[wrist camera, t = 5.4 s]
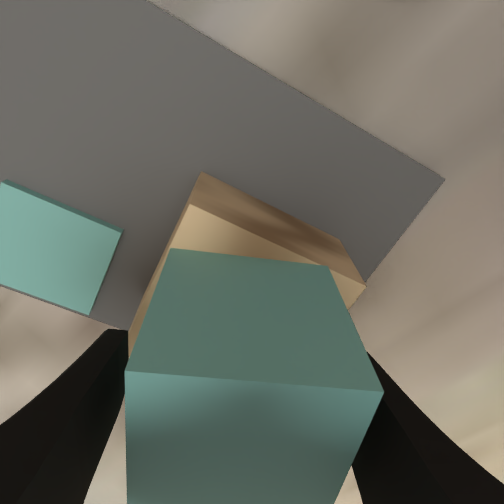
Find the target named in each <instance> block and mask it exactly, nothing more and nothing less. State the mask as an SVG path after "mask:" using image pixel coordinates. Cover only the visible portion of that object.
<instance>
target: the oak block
mask: <svg viewBox="0 0 504 504" xmlns="http://www.w3.org/2000/svg"><path fill="white" fill-rule="evenodd" d="M170 248H177V249H186V250H195V251H203V252H212V253H221V254H229V255H238V256H247V257H255V258H264V259H273V260H281V261H290V262H298V263H307V264H316V265H324V266H328V267H329V270H330V272H331V274H332V276H333V279H334V281H335V283H336V285H337V287H338V290H339V292H340V294H341V296H342V299H343V301H344V303H345V305H346V308H347V310H349V308H350V307H351V306H352V305H353V303H354V302H355V301H356V300H357V298H358V297H359V296H360V294H361V293H362V292H363V291H364V289H365V288H366V287H367V286H366V284H365V283H364V281H363V279H362V277H361V276H360V274H359V272H358V271H357V269H356V267H355V265H354V264H353V262H352V260H351V258H350V257H349V255H348V253H347V252H346V250H345V248H344V246H343V245H342V243H341V241H340V240H339V239H338V238H336V237H334V236H332V235H329V234H327V233H325V232H323V231H321V230H319V229H317V228H315V227H313V226H311V225H309V224H307V223H305V222H303V221H301V220H299V219H297V218H295V217H293V216H291V215H289V214H287V213H285V212H283V211H281V210H279V209H277V208H275V207H273V206H271V205H269V204H267V203H265V202H263V201H261V200H259V199H257V198H255V197H253V196H251V195H249V194H247V193H245V192H243V191H241V190H239V189H236V188H234V187H232V186H230V185H228V184H226V183H224V182H222V181H220V180H218V179H216V178H214V177H212V176H210V175H208V174H206V173H204V172H202V171H201V173H200V175H199V177H198V179H197V181H196V183H195V186H194V188H193V190H192V192H191V194H190V196H189V198H188V201H187V203H186V205H185V207H184V209H183V211H182V214H181V216H180V218H179V220H178V222H177V224H176V226H175V229H174V231H173V233H172V235H171V237H170V239H169V241H168V244H167V246H166V248H165V250H164V252H163V254H162V257H161V259H160V261H159V263H158V265H157V267H156V269H155V272H154V274H153V276H152V278H151V280H150V282H149V285H148V287H147V289H146V291H145V293H144V295H143V298H142V300H141V302H140V305H139V307H138V310H137V312H136V315H135V317H134V319H133V322H132V324H131V327H130V329H129V332H128V349H129V357H130V355H131V352H132V350H133V347H134V344H135V342H136V339H137V336H138V333H139V331H140V328H141V325H142V323H143V320H144V317H145V315H146V312H147V309H148V307H149V304H150V301H151V299H152V296H153V293H154V291H155V288H156V285H157V283H158V280H159V277H160V274H161V272H162V269H163V266H164V264H165V261H166V258H167V256H168V253H169V250H170Z"/></svg>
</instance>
